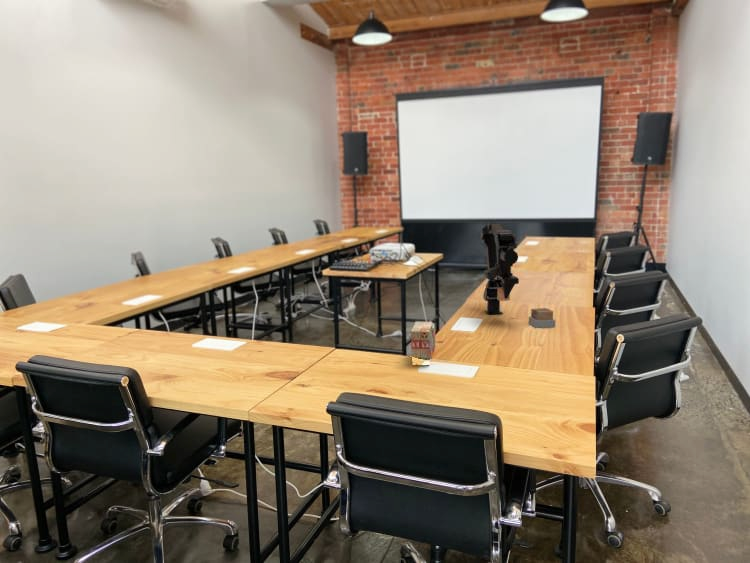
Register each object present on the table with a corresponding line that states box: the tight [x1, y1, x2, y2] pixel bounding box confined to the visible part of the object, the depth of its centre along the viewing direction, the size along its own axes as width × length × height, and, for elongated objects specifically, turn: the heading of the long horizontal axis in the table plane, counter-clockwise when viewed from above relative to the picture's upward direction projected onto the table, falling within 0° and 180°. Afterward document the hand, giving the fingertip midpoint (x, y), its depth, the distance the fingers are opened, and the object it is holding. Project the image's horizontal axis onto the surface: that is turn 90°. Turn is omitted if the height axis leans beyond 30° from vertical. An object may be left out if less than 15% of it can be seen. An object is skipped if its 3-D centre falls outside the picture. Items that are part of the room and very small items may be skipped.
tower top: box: [530, 307, 554, 321], centre depth 226 cm, size 6×6×4 cm
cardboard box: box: [410, 321, 436, 360], centre depth 191 cm, size 21×6×12 cm, turn 169°
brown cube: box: [497, 287, 511, 302], centre depth 232 cm, size 5×5×5 cm
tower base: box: [528, 316, 556, 329], centre depth 227 cm, size 8×8×4 cm
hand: (503, 297), depth 232 cm, fingers closed on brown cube, 5 cm apart
